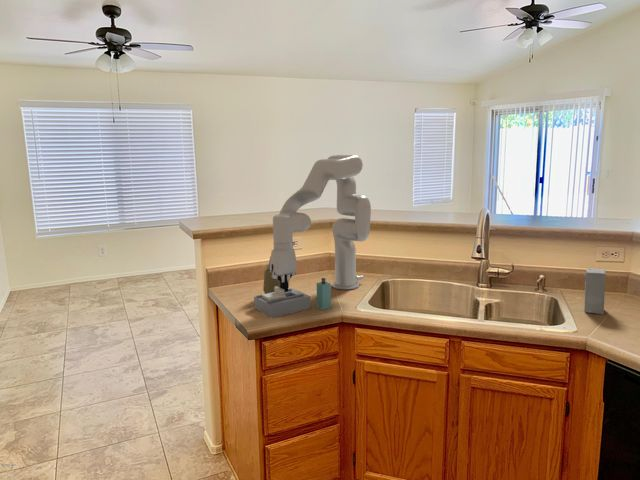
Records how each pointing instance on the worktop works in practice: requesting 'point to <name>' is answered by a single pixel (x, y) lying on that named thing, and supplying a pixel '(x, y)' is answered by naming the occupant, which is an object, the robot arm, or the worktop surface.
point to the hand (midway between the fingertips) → (284, 290)
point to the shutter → (275, 294)
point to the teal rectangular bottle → (323, 294)
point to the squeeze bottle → (269, 281)
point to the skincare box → (595, 291)
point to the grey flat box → (283, 303)
